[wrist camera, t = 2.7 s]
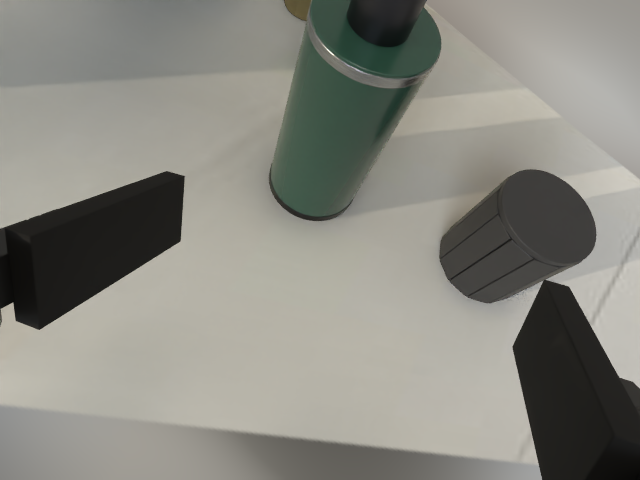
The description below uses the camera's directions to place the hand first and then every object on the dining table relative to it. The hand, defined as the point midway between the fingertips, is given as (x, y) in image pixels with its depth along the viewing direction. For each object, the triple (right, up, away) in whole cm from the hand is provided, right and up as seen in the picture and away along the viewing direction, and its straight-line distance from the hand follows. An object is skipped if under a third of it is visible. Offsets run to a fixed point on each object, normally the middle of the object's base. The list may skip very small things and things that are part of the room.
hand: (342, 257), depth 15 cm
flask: (-2, +6, +26) cm, 27 cm away
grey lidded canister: (+15, -1, +27) cm, 31 cm away
